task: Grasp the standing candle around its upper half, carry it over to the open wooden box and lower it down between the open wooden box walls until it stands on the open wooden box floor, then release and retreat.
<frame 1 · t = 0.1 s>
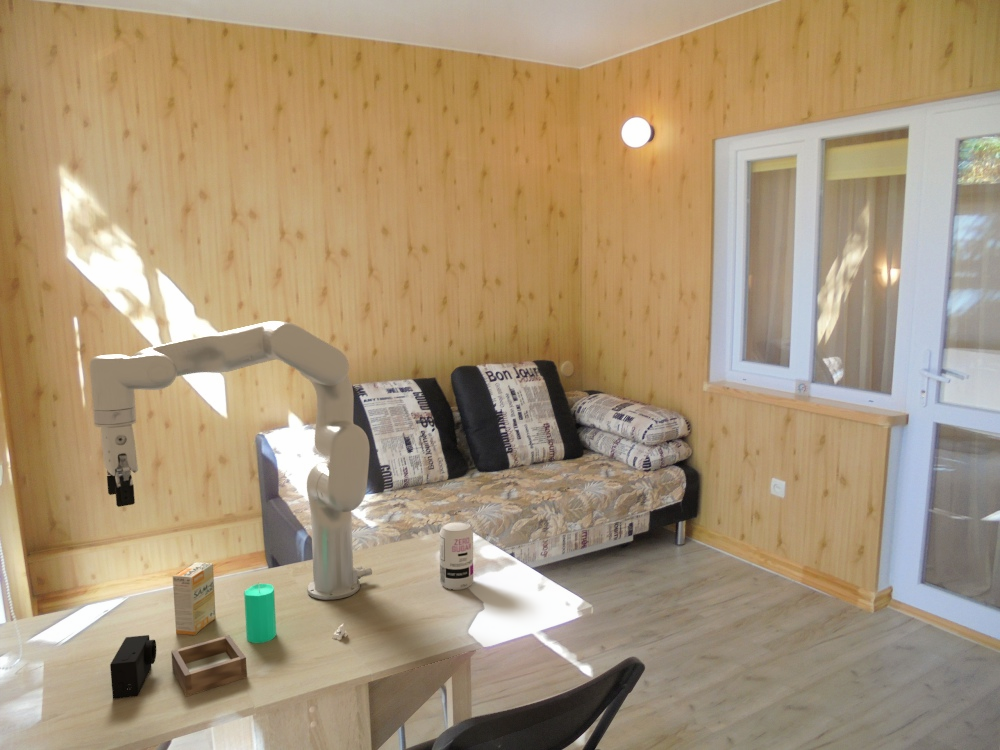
hand: (121, 499, 151), 31 cm above the table, fingers open, 9 cm apart
white irregular piece: (335, 638, 159), on the table
digital camera: (136, 683, 140), on the table
supplement can: (456, 584, 184), on the table
supplement box: (196, 626, 163), on the table
open wooden box: (209, 673, 143), on the table
candle: (261, 637, 158), on the table
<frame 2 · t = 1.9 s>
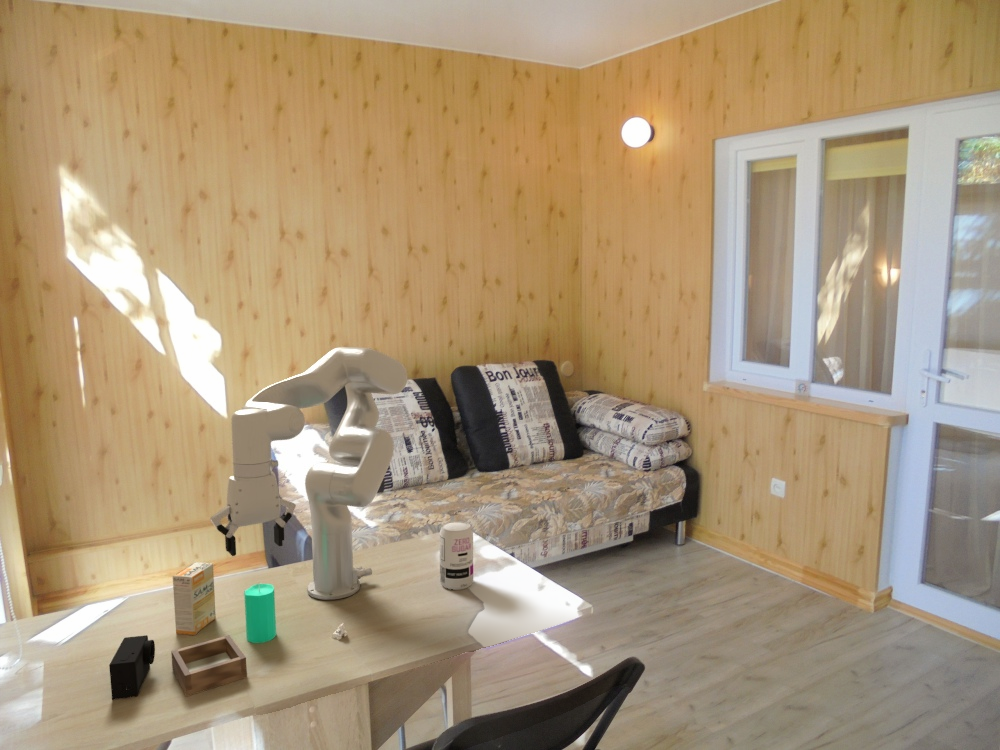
hand: (255, 549, 155), 20 cm above the table, fingers open, 9 cm apart
nothing on the table moved.
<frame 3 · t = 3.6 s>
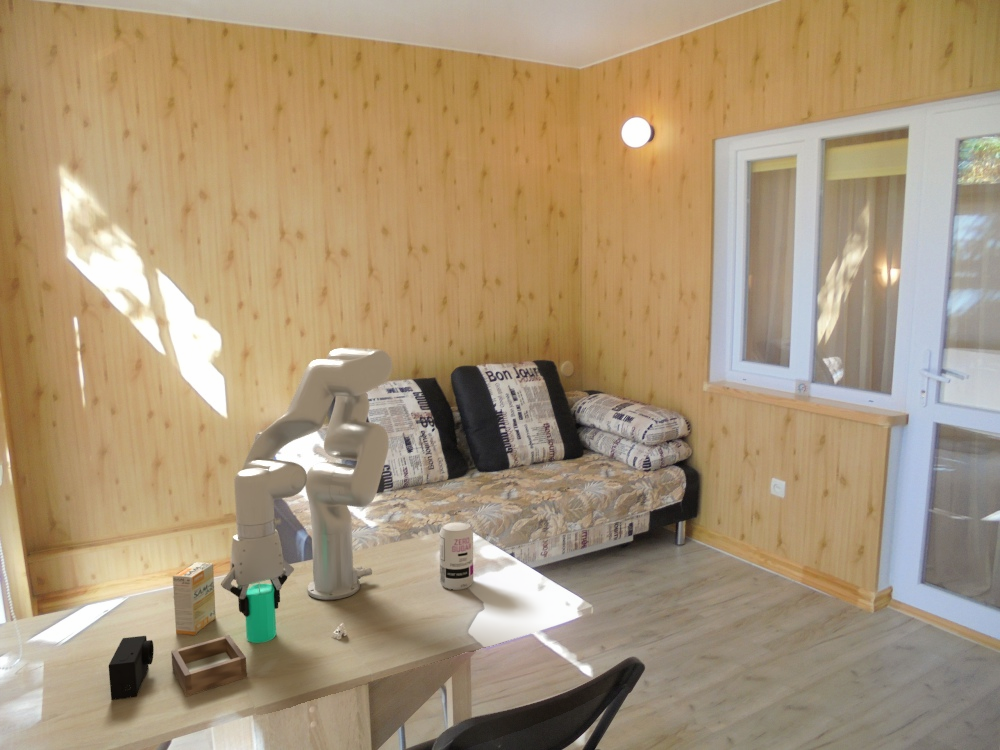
hand: (259, 609, 157), 6 cm above the table, fingers closed on candle, 5 cm apart
candle: (261, 637, 158), on the table, touching gripper
everything else where it was.
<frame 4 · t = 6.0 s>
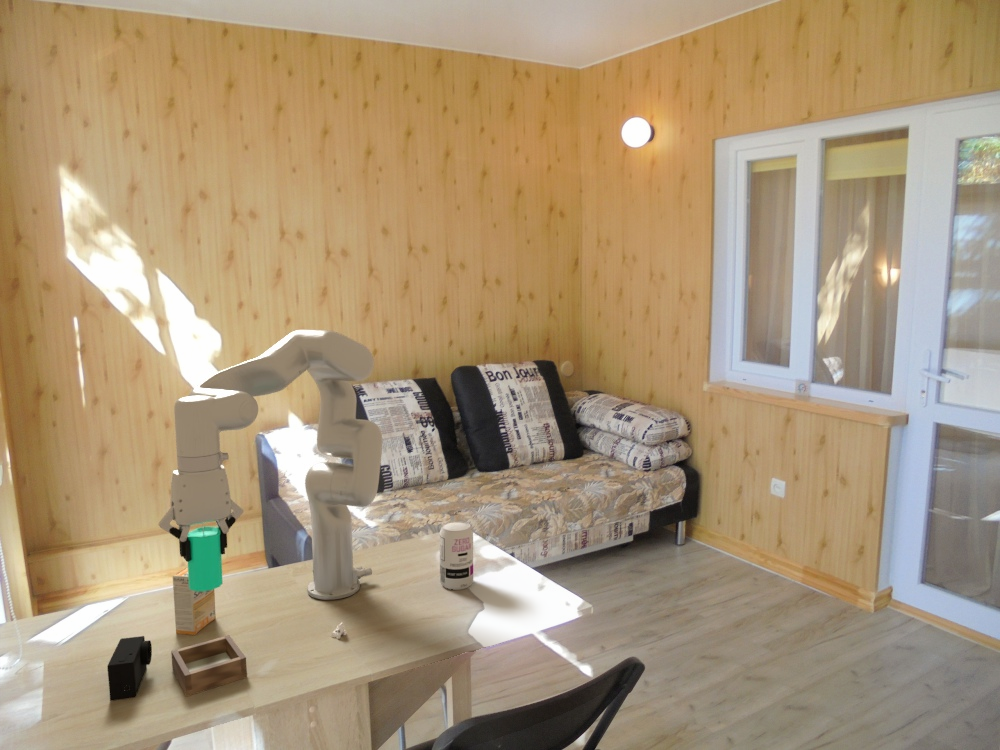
hand: (204, 554, 141), 24 cm above the table, fingers closed on candle, 5 cm apart
candle: (205, 585, 141), point 18 cm above the table, touching gripper
everything else where it was.
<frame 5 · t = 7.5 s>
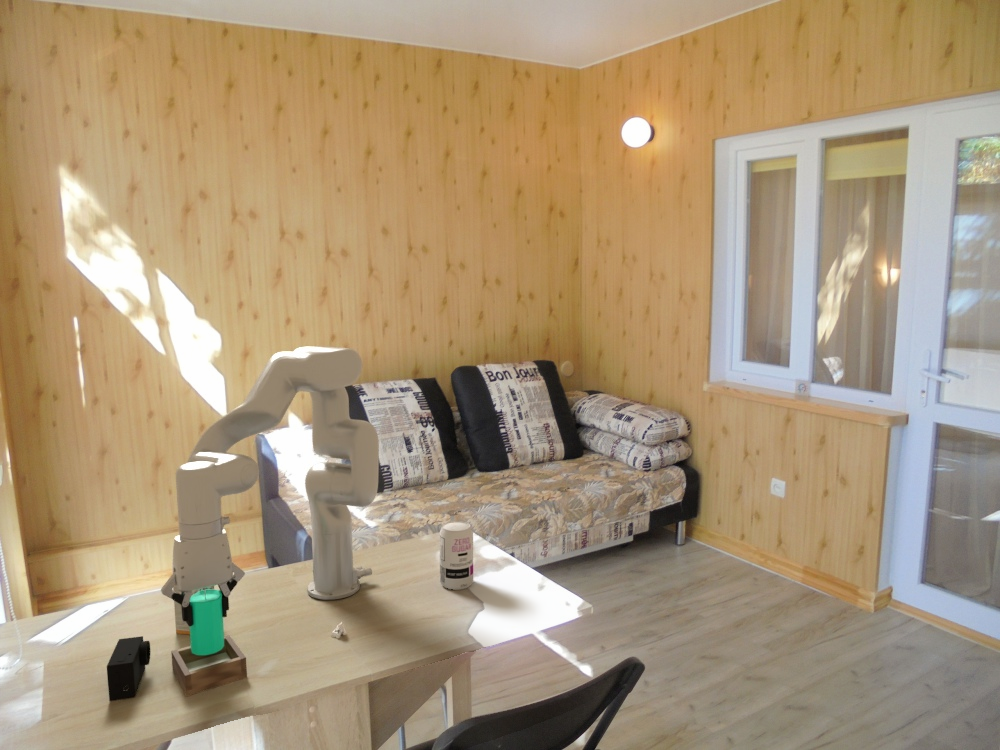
hand: (206, 618, 142), 11 cm above the table, fingers closed on candle, 5 cm apart
candle: (207, 648, 143), point 5 cm above the table, touching gripper
everything else where it was.
when the fingers open (8 cm above the table, at t = 8.6 s): candle stays where it is, resting on open wooden box.
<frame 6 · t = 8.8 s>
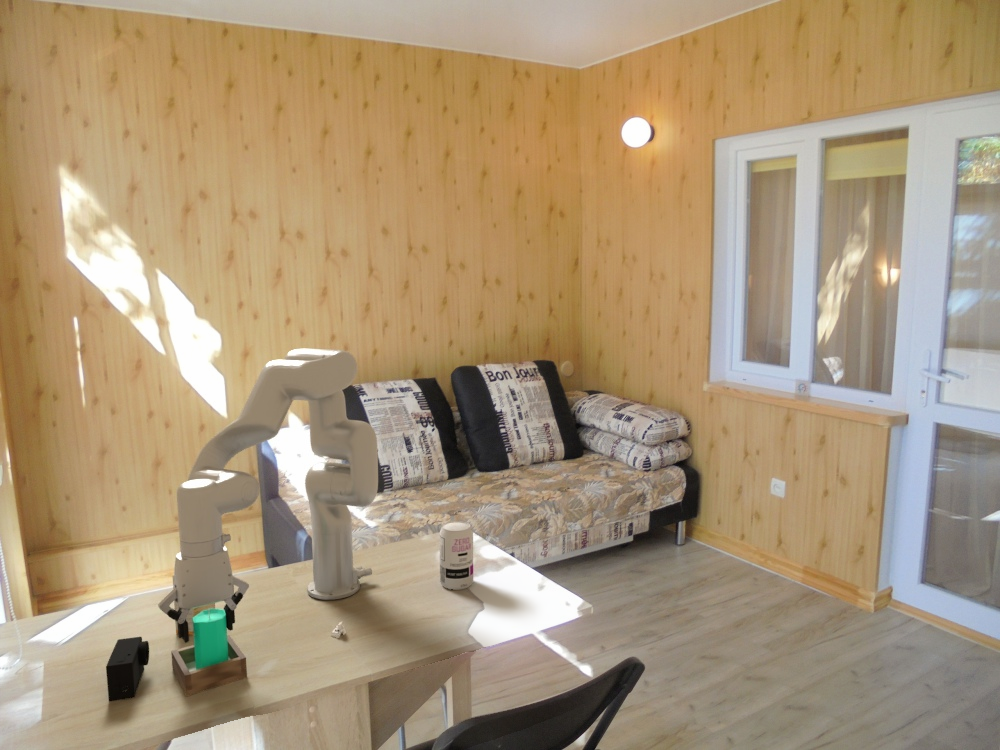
hand: (207, 633, 142), 8 cm above the table, fingers open, 7 cm apart
candle: (212, 667, 144), point 1 cm above the table, touching open wooden box
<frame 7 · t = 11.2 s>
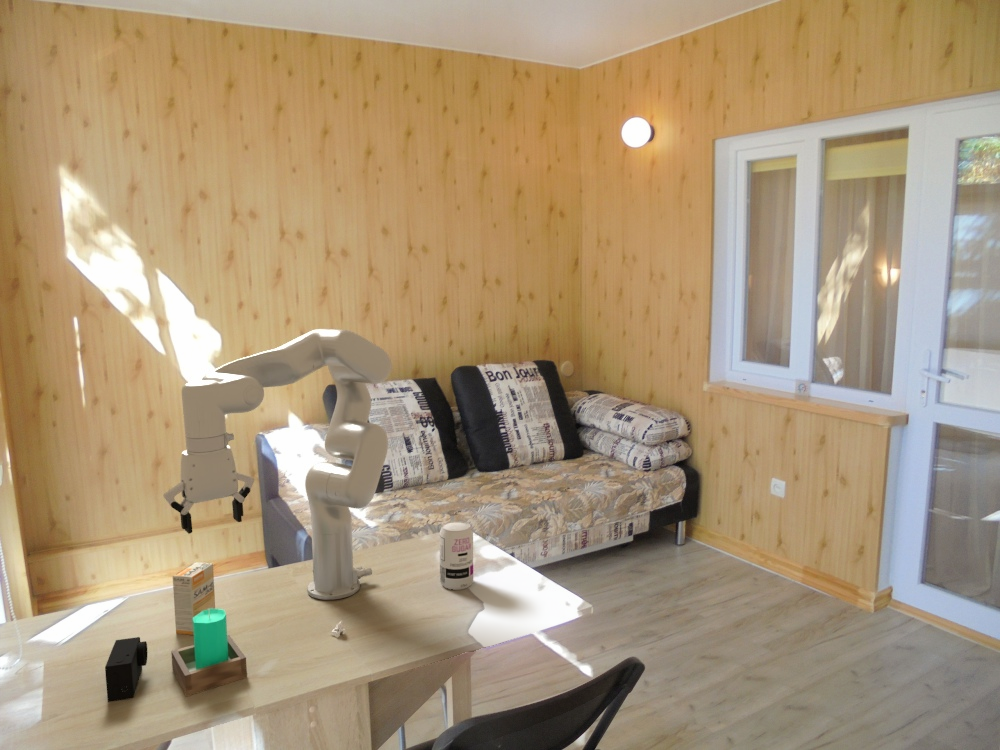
hand: (213, 525, 149), 26 cm above the table, fingers open, 9 cm apart
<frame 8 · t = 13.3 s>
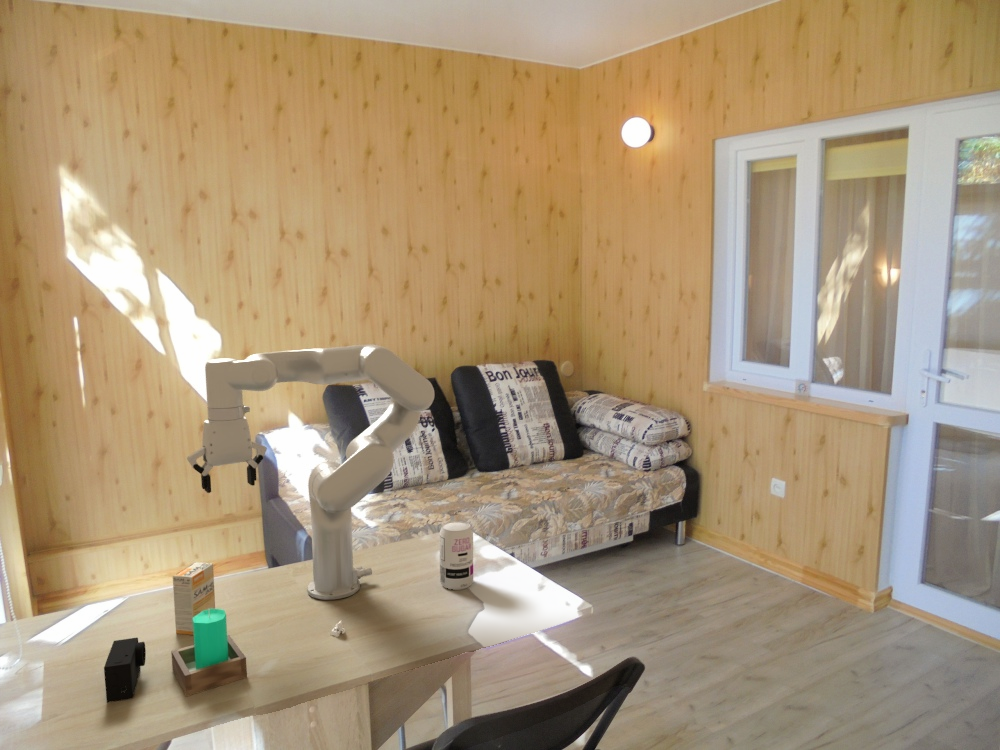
hand: (229, 487, 169), 28 cm above the table, fingers open, 9 cm apart
at the end: candle 0.6 cm off-centre on the open wooden box, point 1.0 cm above the open wooden box's base; candle tilted 0°; the gripper is holding nothing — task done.
